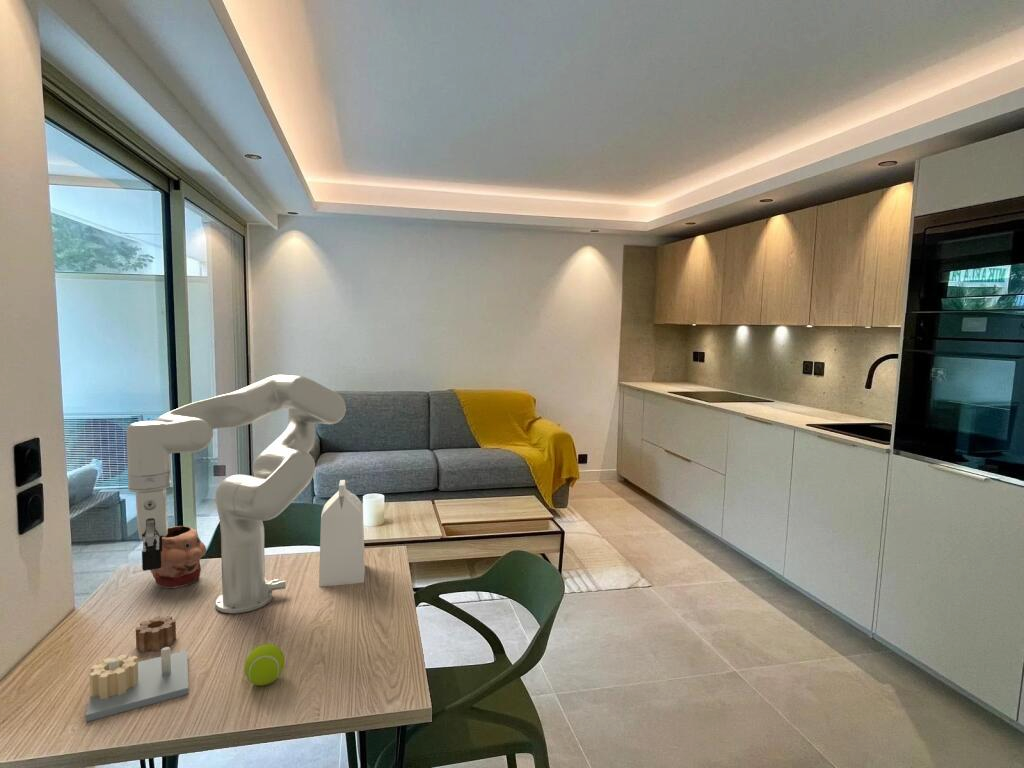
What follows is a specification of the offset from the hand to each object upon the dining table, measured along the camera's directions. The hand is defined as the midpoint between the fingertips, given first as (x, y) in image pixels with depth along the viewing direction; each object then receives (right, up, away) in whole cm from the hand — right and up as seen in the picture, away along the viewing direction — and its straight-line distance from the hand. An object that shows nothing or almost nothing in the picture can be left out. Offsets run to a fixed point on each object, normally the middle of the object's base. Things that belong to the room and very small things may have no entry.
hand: (152, 560), depth 117 cm
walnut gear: (0, -18, +1) cm, 18 cm away
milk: (+29, -16, +37) cm, 49 cm away
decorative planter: (-15, -16, +31) cm, 38 cm away
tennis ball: (+29, -20, -11) cm, 37 cm away
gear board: (+6, -19, -13) cm, 24 cm away
